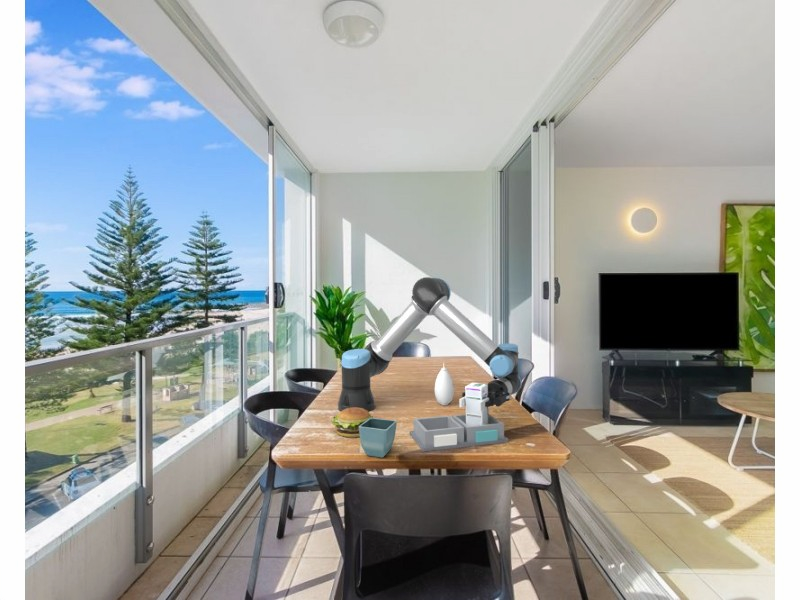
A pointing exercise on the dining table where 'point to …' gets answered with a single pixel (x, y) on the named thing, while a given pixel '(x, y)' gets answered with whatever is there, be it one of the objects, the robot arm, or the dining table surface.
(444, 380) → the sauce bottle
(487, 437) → the sorting bin tray
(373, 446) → the flower pot
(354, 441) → the dining table surface
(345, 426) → the food
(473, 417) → the syrup box
